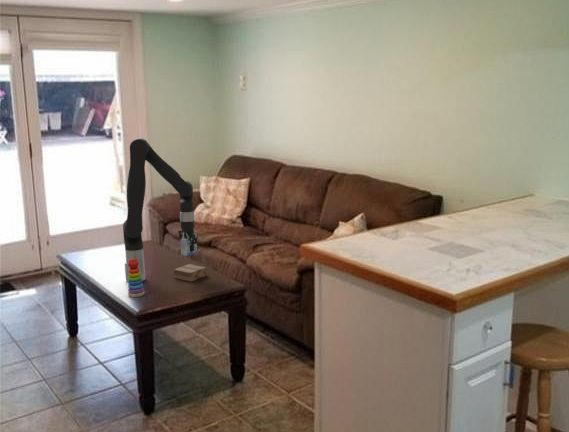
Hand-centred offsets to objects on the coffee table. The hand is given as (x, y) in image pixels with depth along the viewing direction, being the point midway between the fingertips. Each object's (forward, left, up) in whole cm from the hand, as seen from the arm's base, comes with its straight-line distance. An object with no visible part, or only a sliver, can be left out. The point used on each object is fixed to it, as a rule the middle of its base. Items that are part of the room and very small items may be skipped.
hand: (188, 250), depth 323 cm
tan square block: (0, 0, -15) cm, 15 cm away
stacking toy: (-36, -2, -15) cm, 39 cm away
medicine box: (0, 0, -2) cm, 2 cm away
